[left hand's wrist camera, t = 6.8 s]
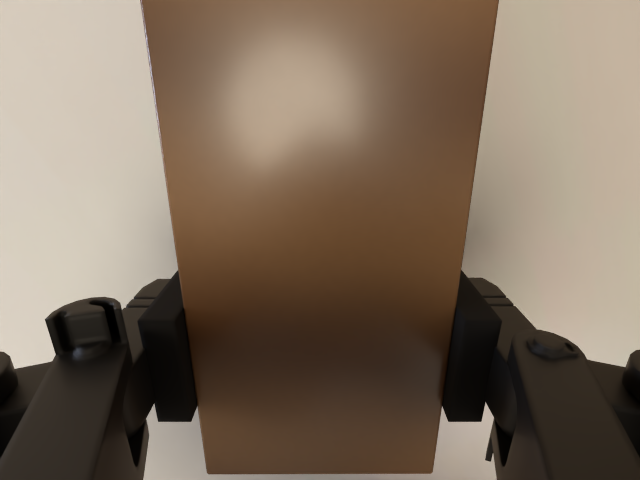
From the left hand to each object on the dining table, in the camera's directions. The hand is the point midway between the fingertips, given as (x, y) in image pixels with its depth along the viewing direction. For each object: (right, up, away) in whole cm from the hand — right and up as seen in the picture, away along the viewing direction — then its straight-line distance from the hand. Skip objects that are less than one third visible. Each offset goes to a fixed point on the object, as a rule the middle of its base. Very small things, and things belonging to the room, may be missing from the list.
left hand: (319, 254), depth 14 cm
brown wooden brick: (0, +6, 0) cm, 6 cm away
